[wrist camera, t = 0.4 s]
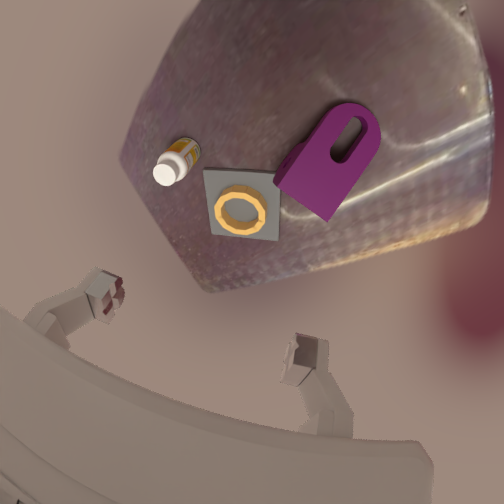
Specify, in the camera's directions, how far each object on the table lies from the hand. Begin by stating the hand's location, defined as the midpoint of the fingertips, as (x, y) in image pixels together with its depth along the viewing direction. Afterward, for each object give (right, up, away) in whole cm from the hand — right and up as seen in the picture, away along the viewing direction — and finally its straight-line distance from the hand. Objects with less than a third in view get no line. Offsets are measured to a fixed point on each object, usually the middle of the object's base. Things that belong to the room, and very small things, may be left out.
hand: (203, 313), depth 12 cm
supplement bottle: (-9, +21, +36) cm, 43 cm away
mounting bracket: (+15, +20, +31) cm, 40 cm away
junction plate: (+1, +12, +42) cm, 44 cm away
